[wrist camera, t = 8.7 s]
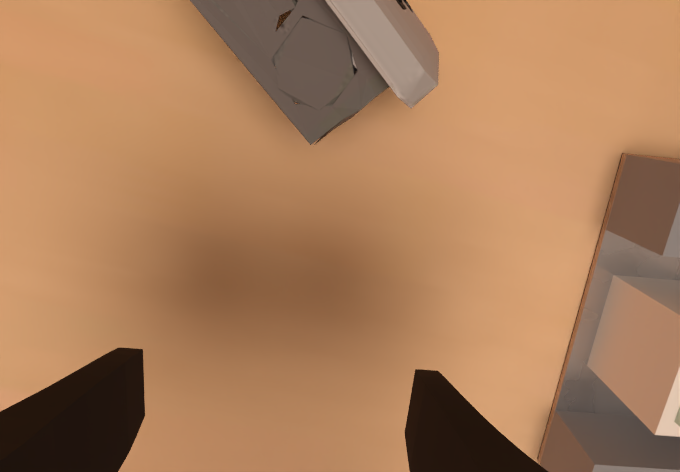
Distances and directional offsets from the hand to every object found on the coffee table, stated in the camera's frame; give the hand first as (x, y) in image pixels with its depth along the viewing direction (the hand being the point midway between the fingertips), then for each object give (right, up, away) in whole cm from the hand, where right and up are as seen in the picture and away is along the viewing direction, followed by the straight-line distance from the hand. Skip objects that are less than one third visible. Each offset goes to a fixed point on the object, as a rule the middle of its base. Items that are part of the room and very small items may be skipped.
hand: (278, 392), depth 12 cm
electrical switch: (+1, +13, +7) cm, 15 cm away
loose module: (+17, 0, +11) cm, 20 cm away
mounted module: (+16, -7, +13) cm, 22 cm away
